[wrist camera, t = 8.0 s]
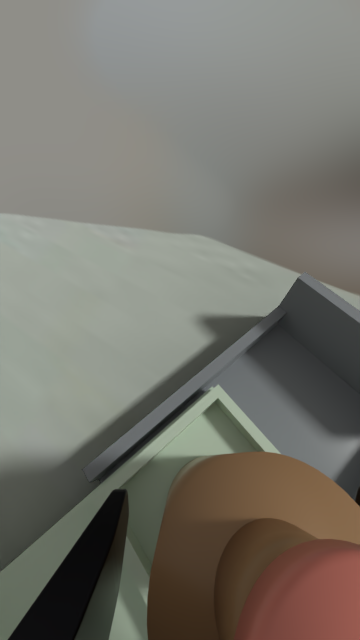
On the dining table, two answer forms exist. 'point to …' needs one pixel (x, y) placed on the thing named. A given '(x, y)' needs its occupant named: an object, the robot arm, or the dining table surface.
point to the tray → (132, 511)
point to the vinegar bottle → (255, 553)
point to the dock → (280, 386)
